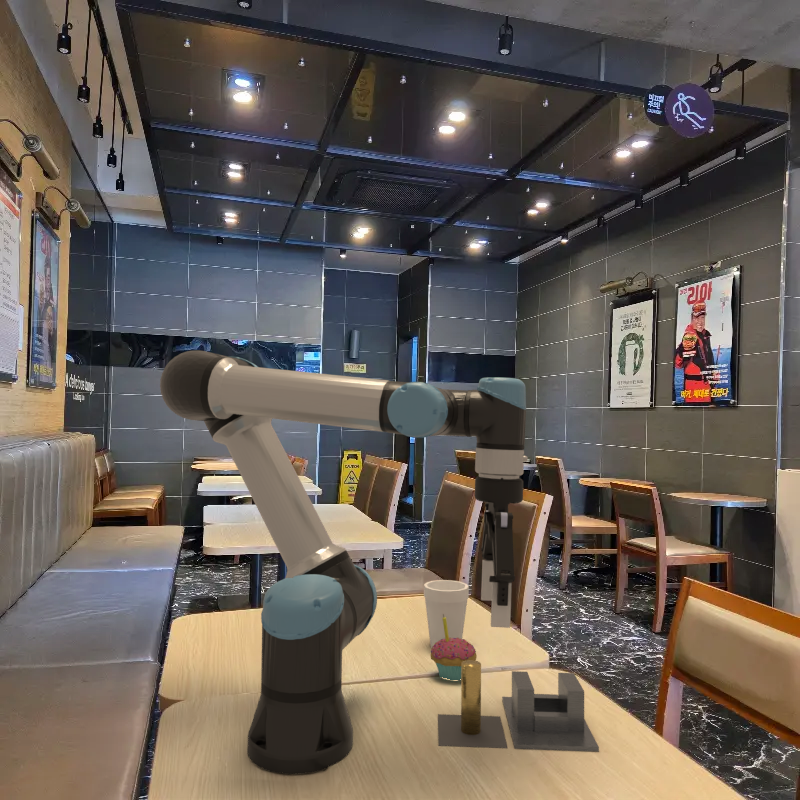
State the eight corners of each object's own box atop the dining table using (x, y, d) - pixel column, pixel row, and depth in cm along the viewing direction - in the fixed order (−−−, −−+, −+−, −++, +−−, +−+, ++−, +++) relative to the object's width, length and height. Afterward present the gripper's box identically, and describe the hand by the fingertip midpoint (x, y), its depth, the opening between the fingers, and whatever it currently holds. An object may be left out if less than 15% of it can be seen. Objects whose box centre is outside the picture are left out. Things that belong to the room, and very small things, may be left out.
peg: (461, 734, 95) (461, 667, 95) (460, 725, 98) (461, 659, 98) (481, 735, 95) (481, 667, 95) (479, 725, 98) (480, 660, 98)
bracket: (514, 751, 91) (514, 701, 91) (502, 702, 107) (502, 660, 107) (598, 754, 90) (598, 704, 91) (573, 705, 106) (573, 662, 107)
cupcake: (438, 689, 112) (439, 621, 113) (424, 671, 120) (424, 607, 121) (483, 684, 114) (483, 617, 115) (466, 667, 123) (466, 604, 123)
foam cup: (468, 641, 138) (468, 580, 138) (468, 656, 128) (468, 592, 129) (424, 639, 139) (425, 579, 139) (421, 654, 129) (422, 590, 130)
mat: (438, 748, 92) (438, 745, 92) (437, 716, 102) (437, 714, 102) (507, 750, 91) (507, 748, 91) (500, 718, 101) (500, 716, 101)
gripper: (538, 485, 87) (533, 641, 86) (511, 470, 112) (507, 591, 111) (484, 482, 87) (478, 638, 86) (468, 469, 112) (464, 589, 111)
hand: (494, 612), depth 98 cm, fingers open, 13 cm apart
